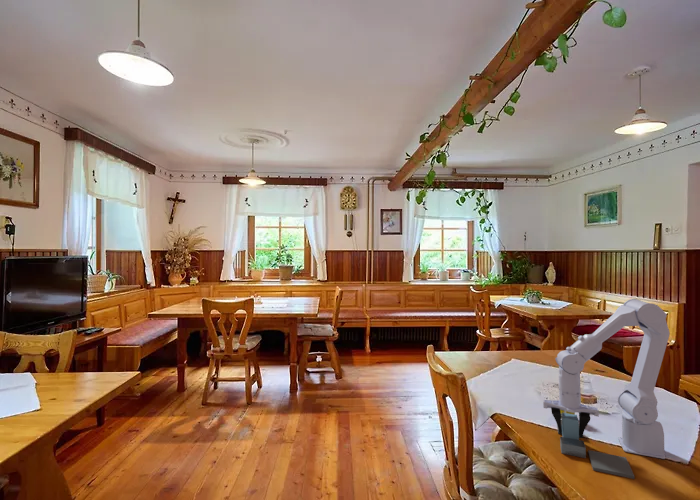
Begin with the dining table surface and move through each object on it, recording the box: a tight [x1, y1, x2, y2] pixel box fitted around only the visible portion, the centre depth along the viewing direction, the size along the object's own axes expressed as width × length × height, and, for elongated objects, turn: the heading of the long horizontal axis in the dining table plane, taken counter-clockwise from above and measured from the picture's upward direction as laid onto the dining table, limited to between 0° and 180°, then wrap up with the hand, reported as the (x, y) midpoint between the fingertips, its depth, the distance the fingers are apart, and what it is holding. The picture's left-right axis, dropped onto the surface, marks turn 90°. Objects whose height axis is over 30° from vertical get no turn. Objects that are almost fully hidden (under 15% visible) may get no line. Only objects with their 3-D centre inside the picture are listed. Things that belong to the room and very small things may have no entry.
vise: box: [556, 419, 587, 459], centre depth 112 cm, size 6×19×3 cm, turn 154°
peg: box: [561, 413, 580, 440], centre depth 111 cm, size 4×4×8 cm
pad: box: [587, 449, 635, 480], centre depth 99 cm, size 9×9×1 cm
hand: (570, 434), depth 111 cm, fingers open, 5 cm apart
